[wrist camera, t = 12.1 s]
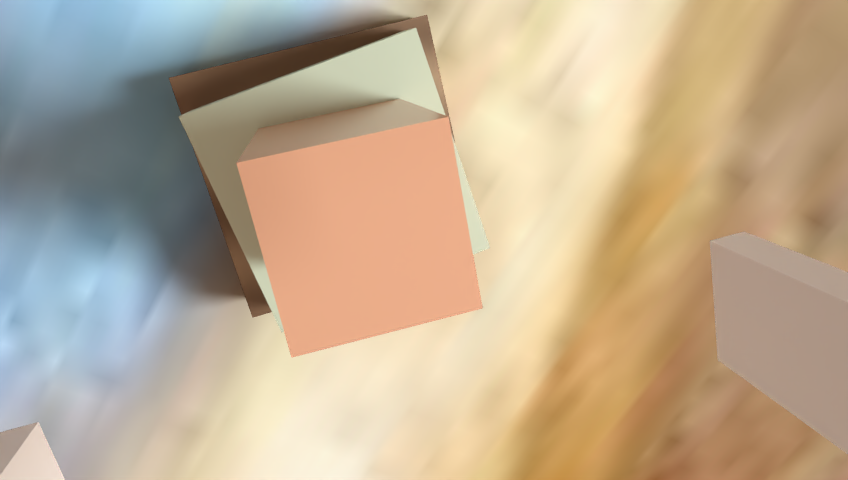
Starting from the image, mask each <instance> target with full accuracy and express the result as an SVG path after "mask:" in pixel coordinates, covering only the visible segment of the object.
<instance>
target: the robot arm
mask: <svg viewBox="0 0 848 480" xmlns="http://www.w3.org/2000/svg"><path fill="white" fill-rule="evenodd" d="M710 249H711V264H712V279H713V295H714V310H715V325H716V340H717V355H718V360H719V361H720V362H721V363H723V364H724V365H726V366H727V367H728V368H730V369H731V370H732V371H734V372H735V373H737V374H738V375H739V376H741V377H742V378H743V379H745V380H746V381H748V382H749V383H750V384H752V385H753V386H755V387H756V388H757V389H759V390H760V391H761V392H763V393H764V394H766V395H767V396H768V397H770V398H771V399H772V400H774V401H775V402H777V403H778V404H779V405H781V406H782V407H783V408H785V409H786V410H788V411H789V412H790V413H792V414H793V415H795V416H796V417H797V418H799V419H800V420H801V421H803V422H804V423H806V424H807V425H808V426H810V427H811V428H812V429H814V430H815V431H817V432H818V433H819V434H821V435H822V436H824V437H825V438H826V439H828V440H829V441H830V442H832V443H833V444H835V445H836V446H837V447H839V448H840V449H841V450H843V451H844V452H846V453H847V454H848V272H846V271H843V270H841V269H838V268H836V267H833V266H831V265H828V264H826V263H823V262H820V261H818V260H815V259H813V258H810V257H808V256H805V255H803V254H800V253H798V252H795V251H792V250H790V249H787V248H785V247H782V246H780V245H777V244H775V243H772V242H770V241H767V240H764V239H762V238H759V237H757V236H754V235H752V234H749V233H747V232H741V233H737V234H733V235H729V236H726V237H722V238H718V239H715V240H711V241H710ZM0 480H65V479H64V477H63V475H62V473H61V471H60V468H59V466H58V464H57V462H56V460H55V457H54V455H53V453H52V451H51V449H50V447H49V444H48V442H47V440H46V438H45V436H44V434H43V431H42V429H41V427H40V425H39V423H38V422H37V423H33V424H29V425H26V426H22V427H18V428H15V429H11V430H7V431H3V432H0Z"/></svg>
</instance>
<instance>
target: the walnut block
mask: <svg viewBox="0 0 848 480" xmlns="http://www.w3.org/2000/svg"><path fill="white" fill-rule="evenodd" d="M413 28H416V29H417V32H418V35H419V38H420V41H421V44H422V47H423V50H424V53H425V56H426V59H427V62H428V65H429V68H430V71H431V74H432V77H433V80H434V83H435V86H436V89H437V92H438V95H439V97H440V100H441V103H442V106H443V109H444V112H445V115H446V116H448V117H449V113H448V108H447V104H446V99H445V95H444V90H443V85H442V81H441V76H440V72H439V67H438V63H437V58H436V53H435V49H434V44H433V40H432V35H431V31H430V26H429V21H428V17H427V15H424V16H420V17H416V18H412V19H408V20H404V21H400V22H396V23H392V24H387V25H383V26H379V27H375V28H371V29H367V30H363V31H359V32H355V33H351V34H346V35H342V36H338V37H334V38H330V39H326V40H322V41H318V42H314V43H310V44H305V45H301V46H297V47H293V48H289V49H285V50H281V51H277V52H273V53H269V54H264V55H260V56H256V57H252V58H248V59H244V60H240V61H236V62H232V63H228V64H223V65H219V66H215V67H211V68H207V69H203V70H199V71H195V72H191V73H187V74H182V75H178V76H174V77H170V78H169V80H170V83H171V86H172V89H173V92H174V95H175V97H176V100H177V103H178V106H179V109H180V112H181V115H183V114H185V113H187V112H189V111H191V110H193V109H196V108H199V107H201V106H204V105H207V104H209V103H212V102H215V101H217V100H220V99H223V98H225V97H228V96H231V95H233V94H236V93H239V92H241V91H244V90H247V89H249V88H252V87H255V86H257V85H260V84H263V83H265V82H268V81H271V80H273V79H276V78H279V77H281V76H284V75H287V74H289V73H292V72H295V71H297V70H300V69H303V68H305V67H308V66H311V65H313V64H316V63H319V62H321V61H324V60H327V59H329V58H332V57H335V56H338V55H340V54H343V53H346V52H348V51H351V50H354V49H356V48H359V47H362V46H364V45H367V44H370V43H372V42H375V41H378V40H380V39H383V38H386V37H388V36H391V35H394V34H396V33H399V32H402V31H405V30H409V29H413ZM449 122H450V117H449ZM450 128H451V133H452V136H453V131H452V127H451V122H450ZM453 139H454V136H453ZM454 142H455V140H454ZM193 149H194V148H193ZM194 152H195V150H194ZM195 155H196V157H197V160H198V163H199V166H200V169H201V172H202V174H203V177H204V180H205V183H206V186H207V189H208V192H209V194H210V197H211V200H212V203H213V206H214V209H215V212H216V214H217V217H218V220H219V223H220V226H221V229H222V232H223V234H224V237H225V240H226V243H227V246H228V249H229V251H230V254H231V257H232V260H233V263H234V266H235V269H236V271H237V274H238V277H239V280H240V283H241V286H242V289H243V291H244V294H245V297H246V300H247V303H248V306H249V309H250V311H251V314H252V317H256V316H259V315H263V314H266V313H270V312H272V311H271V309H270V307H269V305H268V303H267V301H266V298H265V296H264V294H263V292H262V290H261V288H260V286H259V284H258V282H257V280H256V278H255V275H254V273H253V271H252V269H251V267H250V265H249V263H248V261H247V259H246V257H245V255H244V252H243V250H242V248H241V246H240V244H239V242H238V240H237V238H236V236H235V234H234V232H233V229H232V227H231V225H230V223H229V221H228V219H227V217H226V215H225V213H224V211H223V209H222V207H221V204H220V202H219V200H218V198H217V196H216V194H215V192H214V190H213V188H212V186H211V184H210V181H209V179H208V177H207V175H206V173H205V171H204V169H203V167H202V165H201V163H200V161H199V158H198V156H197V154H196V152H195Z"/></svg>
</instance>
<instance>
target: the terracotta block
mask: <svg viewBox="0 0 848 480" xmlns="http://www.w3.org/2000/svg"><path fill="white" fill-rule="evenodd" d="M236 164H237V167H238V171H239V174H240V178H241V181H242V185H243V188H244V192H245V195H246V199H247V202H248V206H249V209H250V213H251V216H252V220H253V223H254V227H255V230H256V234H257V238H258V241H259V245H260V248H261V252H262V255H263V259H264V262H265V266H266V269H267V273H268V276H269V280H270V283H271V287H272V290H273V294H274V297H275V301H276V304H277V308H278V311H279V315H280V318H281V322H282V325H283V329H284V332H285V336H286V340H287V343H288V347H289V350H290V354H291V357H295V356H299V355H303V354H307V353H311V352H315V351H319V350H323V349H326V348H330V347H334V346H338V345H342V344H346V343H350V342H354V341H357V340H361V339H365V338H369V337H373V336H377V335H381V334H385V333H389V332H392V331H396V330H400V329H404V328H408V327H412V326H416V325H420V324H423V323H427V322H431V321H435V320H439V319H443V318H447V317H451V316H454V315H458V314H462V313H466V312H470V311H474V310H478V309H482V302H481V297H480V291H479V286H478V280H477V274H476V269H475V263H474V257H473V252H472V246H471V241H470V235H469V229H468V224H467V218H466V212H465V207H464V201H463V195H462V190H461V184H460V179H459V173H458V167H457V162H456V156H455V150H454V145H453V139H452V133H451V128H450V122H449V117H448V116H445V115H443V114H440V113H437V112H435V111H432V110H429V109H427V108H424V107H421V106H418V105H416V104H413V103H410V102H408V101H405V100H402V99H400V98H399V99H395V100H390V101H385V102H380V103H376V104H371V105H366V106H362V107H357V108H352V109H347V110H343V111H338V112H333V113H329V114H324V115H319V116H314V117H310V118H305V119H300V120H296V121H291V122H286V123H281V124H277V125H272V126H267V127H263V128H258V130H257V131H256V133H255V134H254V136H253V138H252V139H251V141H250V142H249V144H248V145H247V147H246V149H245V150H244V152H243V153H242V155H241V156H240V158H239V159H238V161H237V163H236Z"/></svg>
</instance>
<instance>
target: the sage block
mask: <svg viewBox="0 0 848 480" xmlns="http://www.w3.org/2000/svg"><path fill="white" fill-rule="evenodd" d="M399 98H400V99H402V100H405V101H408V102H410V103H413V104H416V105H418V106H421V107H424V108H427V109H429V110H432V111H435V112H437V113H440V114H443V115H445V112H444V109H443V106H442V103H441V100H440V97H439V95H438V92H437V89H436V86H435V83H434V80H433V77H432V74H431V71H430V68H429V65H428V62H427V59H426V56H425V53H424V50H423V47H422V44H421V41H420V38H419V35H418V32H417V29H416V28H413V29H409V30H405V31H402V32H399V33H396V34H394V35H391V36H388V37H386V38H383V39H380V40H378V41H375V42H372V43H370V44H367V45H364V46H362V47H359V48H356V49H354V50H351V51H348V52H346V53H343V54H340V55H338V56H335V57H332V58H329V59H327V60H324V61H321V62H319V63H316V64H313V65H311V66H308V67H305V68H303V69H300V70H297V71H295V72H292V73H289V74H287V75H284V76H281V77H279V78H276V79H273V80H271V81H268V82H265V83H263V84H260V85H257V86H255V87H252V88H249V89H247V90H244V91H241V92H239V93H236V94H233V95H231V96H228V97H225V98H223V99H220V100H217V101H215V102H212V103H209V104H207V105H204V106H201V107H199V108H196V109H193V110H191V111H189V112H187V113H185V114H183V115H181V116H179V119H180V121H181V123H182V125H183V127H184V129H185V131H186V133H187V135H188V138H189V140H190V142H191V144H192V146H193V148H194V150H195V152H196V154H197V156H198V158H199V161H200V163H201V165H202V167H203V169H204V171H205V173H206V175H207V177H208V179H209V181H210V184H211V186H212V188H213V190H214V192H215V194H216V196H217V198H218V200H219V202H220V204H221V207H222V209H223V211H224V213H225V215H226V217H227V219H228V221H229V223H230V225H231V227H232V229H233V232H234V234H235V236H236V238H237V240H238V242H239V244H240V246H241V248H242V250H243V252H244V255H245V257H246V259H247V261H248V263H249V265H250V267H251V269H252V271H253V273H254V275H255V278H256V280H257V282H258V284H259V286H260V288H261V290H262V292H263V294H264V296H265V298H266V301H267V303H268V305H269V307H270V309H271V311H272V313H273V315H274V317H275V319H276V321H277V323H278V326H279V328H280V330H281V332H283V331H284V329H283V325H282V322H281V318H280V315H279V311H278V308H277V304H276V301H275V297H274V294H273V290H272V287H271V283H270V280H269V276H268V273H267V269H266V266H265V262H264V259H263V255H262V252H261V248H260V245H259V241H258V238H257V234H256V230H255V227H254V223H253V220H252V216H251V213H250V209H249V206H248V202H247V199H246V195H245V192H244V188H243V185H242V181H241V178H240V174H239V171H238V167H237V164H236V163H237V161H238V159H239V158H240V156H241V155H242V153H243V152H244V150H245V149H246V147H247V145H248V144H249V142H250V141H251V139H252V138H253V136H254V134H255V133H256V131H257V130H258V128H263V127H267V126H272V125H277V124H281V123H286V122H291V121H296V120H300V119H305V118H310V117H314V116H319V115H324V114H329V113H333V112H338V111H343V110H347V109H352V108H357V107H362V106H366V105H371V104H376V103H380V102H385V101H390V100H395V99H399ZM445 116H446V115H445ZM452 139H453V136H452ZM453 145H454V150H455V156H456V162H457V167H458V173H459V179H460V184H461V190H462V195H463V201H464V207H465V212H466V218H467V224H468V229H469V235H470V241H471V246H472V252H473V254H476V253H478V252H481V251H483V250H486V249H488V248H490V246H489V243H488V240H487V237H486V234H485V231H484V228H483V225H482V222H481V219H480V216H479V213H478V210H477V207H476V204H475V201H474V198H473V195H472V192H471V190H470V187H469V184H468V181H467V178H466V175H465V172H464V169H463V166H462V163H461V160H460V157H459V154H458V151H457V148H456V145H455V142H454V139H453Z"/></svg>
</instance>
